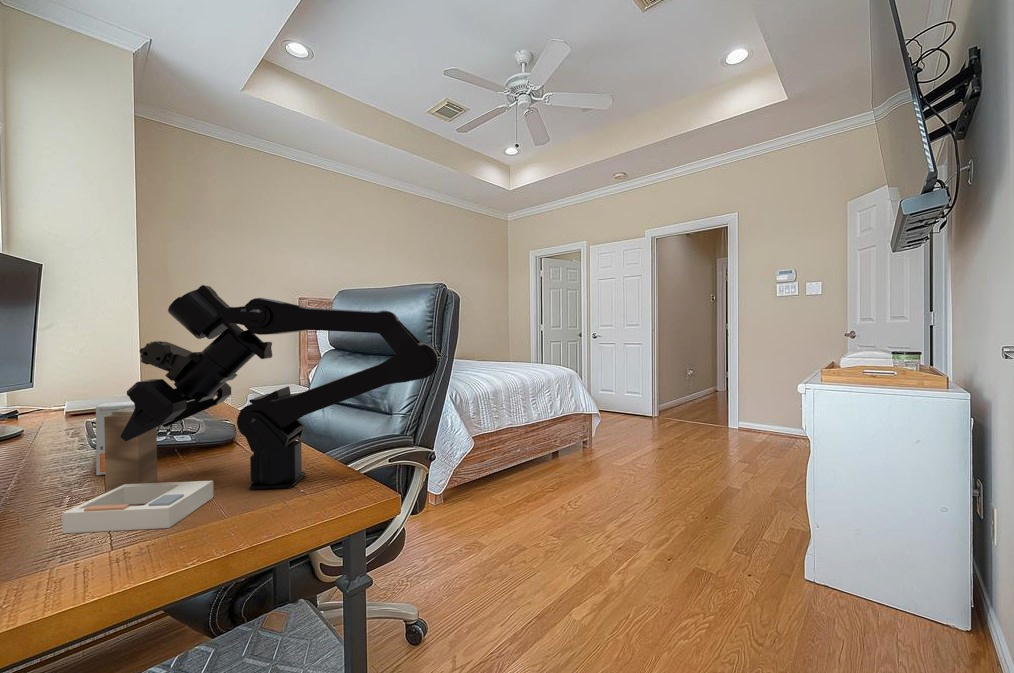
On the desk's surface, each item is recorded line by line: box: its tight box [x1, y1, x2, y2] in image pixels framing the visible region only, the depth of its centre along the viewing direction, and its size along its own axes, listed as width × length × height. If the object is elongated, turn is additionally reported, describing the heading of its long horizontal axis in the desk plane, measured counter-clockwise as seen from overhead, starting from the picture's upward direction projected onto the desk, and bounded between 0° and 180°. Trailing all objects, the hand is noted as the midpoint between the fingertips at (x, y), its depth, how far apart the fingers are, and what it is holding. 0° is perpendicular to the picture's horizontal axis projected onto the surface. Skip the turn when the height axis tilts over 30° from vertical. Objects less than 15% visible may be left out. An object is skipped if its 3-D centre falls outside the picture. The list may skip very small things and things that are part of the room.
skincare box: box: [95, 400, 135, 476], centre depth 77 cm, size 6×4×12 cm
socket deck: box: [61, 480, 214, 534], centre depth 59 cm, size 12×10×3 cm
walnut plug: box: [104, 408, 158, 493], centre depth 67 cm, size 4×4×13 cm
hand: (144, 431), depth 68 cm, fingers open, 9 cm apart
